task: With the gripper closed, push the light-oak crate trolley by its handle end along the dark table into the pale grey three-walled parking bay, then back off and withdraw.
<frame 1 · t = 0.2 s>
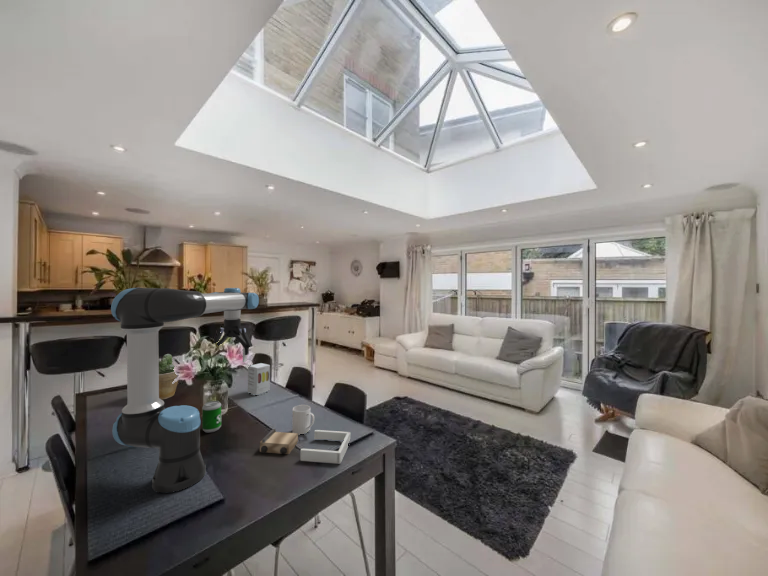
hand: (232, 361, 154), 28 cm above the table, fingers open, 13 cm apart
bay: (326, 450, 123), on the table
trolley: (279, 447, 126), on the table
mug: (304, 433, 138), on the table
potted plant: (162, 397, 180), on the table
supplement box: (258, 393, 188), on the table
soda can: (211, 430, 140), on the table
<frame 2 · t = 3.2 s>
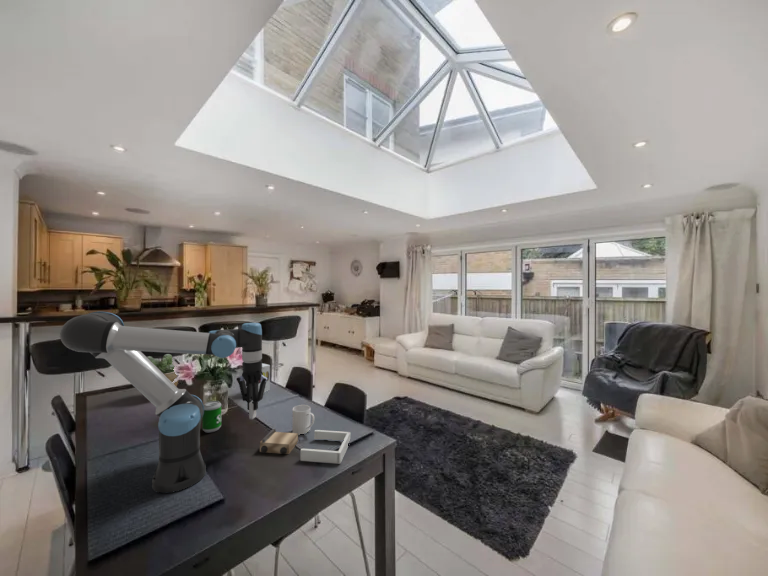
hand: (252, 417, 127), 11 cm above the table, fingers closed
nothing on the table moved.
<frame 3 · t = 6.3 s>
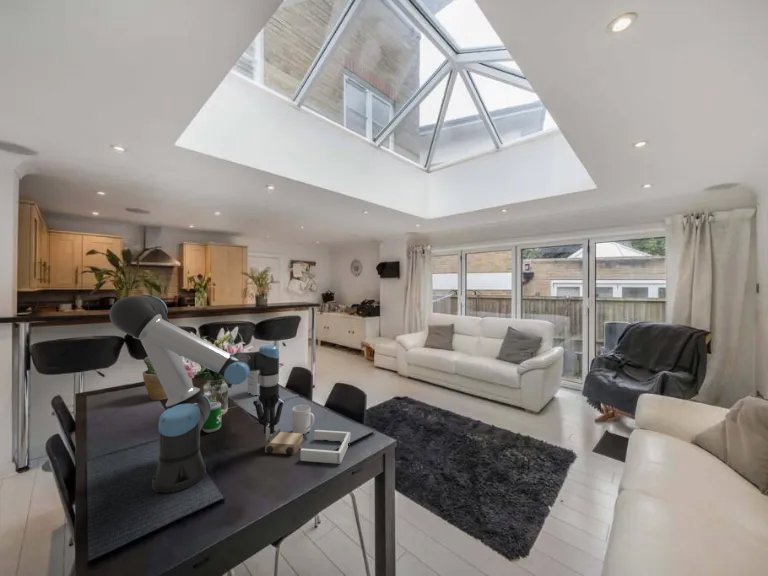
hand: (269, 441, 126), 2 cm above the table, fingers closed
trolley: (284, 447, 125), on the table, touching gripper
everything else where it was.
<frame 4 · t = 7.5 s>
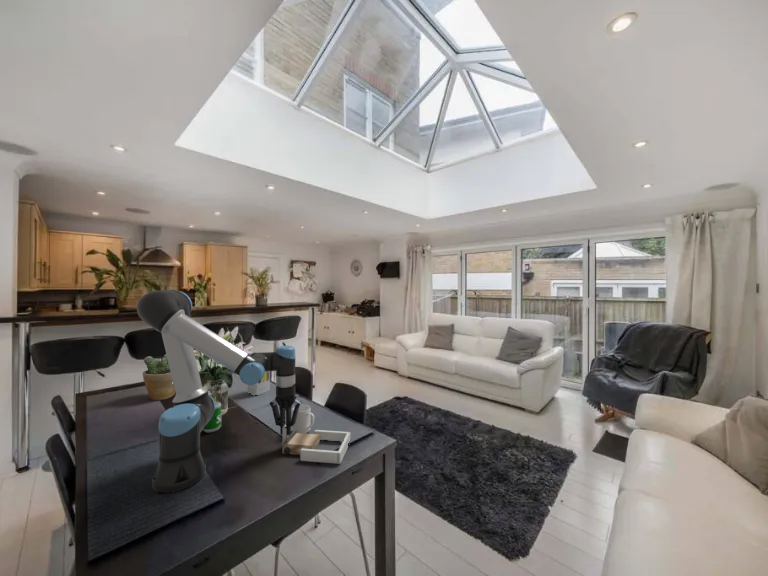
hand: (285, 442, 125), 2 cm above the table, fingers closed
trolley: (301, 448, 125), on the table, touching gripper
everything else where it was.
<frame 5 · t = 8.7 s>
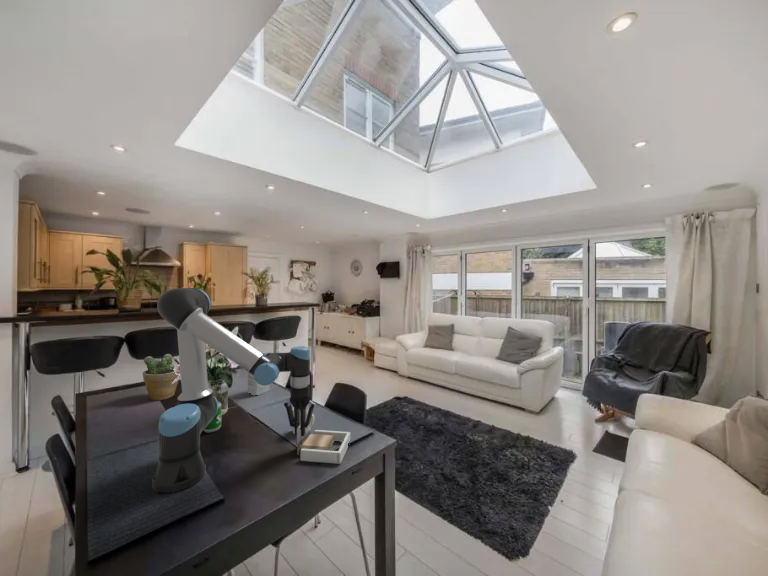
hand: (299, 443, 125), 2 cm above the table, fingers closed
trolley: (316, 449, 124), on the table, touching gripper
everything else where it was.
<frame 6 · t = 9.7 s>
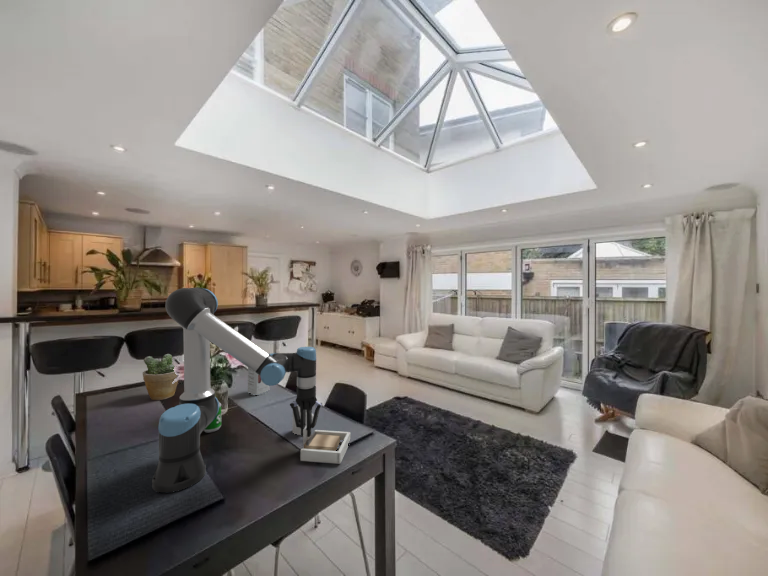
hand: (306, 444, 124), 2 cm above the table, fingers closed
trolley: (322, 450, 124), on the table, touching gripper
everything else where it was.
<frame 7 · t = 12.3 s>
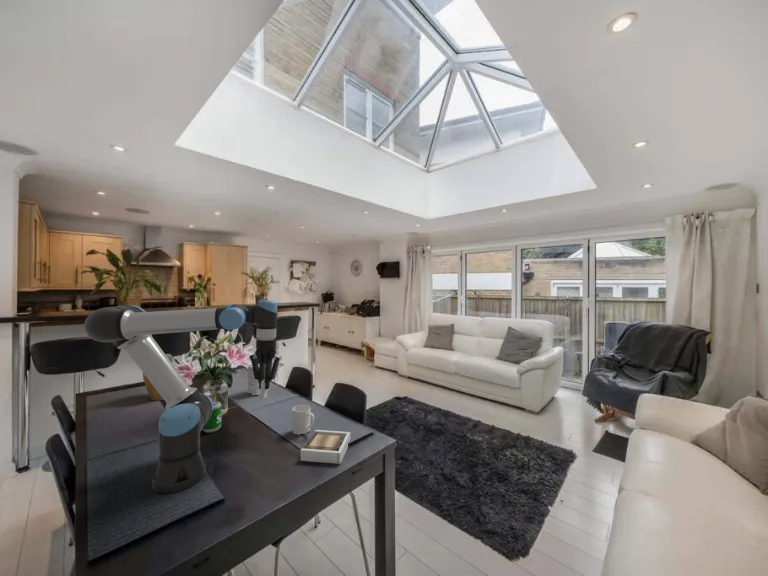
hand: (263, 397, 124), 21 cm above the table, fingers closed
trolley: (322, 450, 124), on the table
everything else where it was.
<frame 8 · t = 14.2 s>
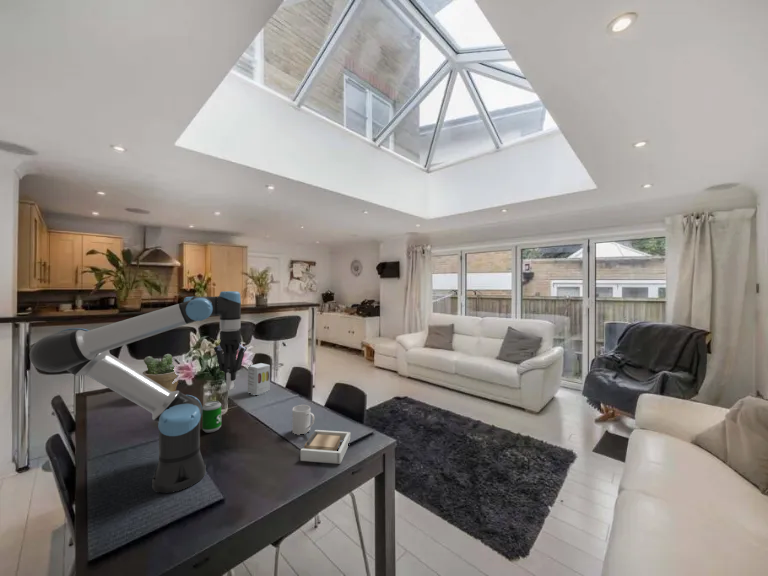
hand: (230, 388, 124), 24 cm above the table, fingers closed
nothing on the table moved.
at the end: trolley inside the target area on the bay (2.6 cm from its centre), point 0.0 cm above the bay's base; trolley tilted 0°; the gripper is holding nothing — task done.
